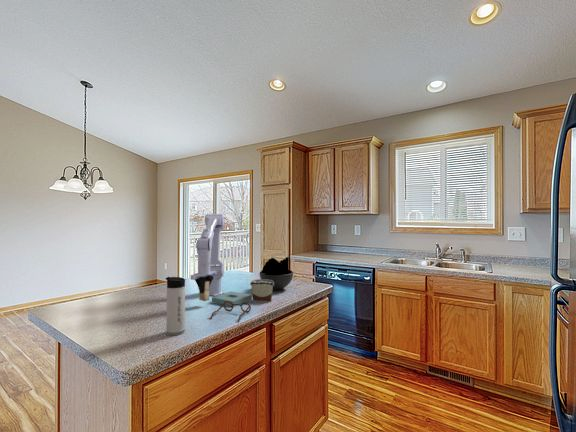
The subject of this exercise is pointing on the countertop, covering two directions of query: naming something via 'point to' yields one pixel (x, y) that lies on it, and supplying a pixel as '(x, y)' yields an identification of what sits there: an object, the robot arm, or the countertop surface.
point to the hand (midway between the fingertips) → (204, 292)
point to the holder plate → (231, 298)
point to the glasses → (232, 308)
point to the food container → (262, 290)
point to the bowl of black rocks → (277, 272)
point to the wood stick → (205, 292)
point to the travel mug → (175, 306)
